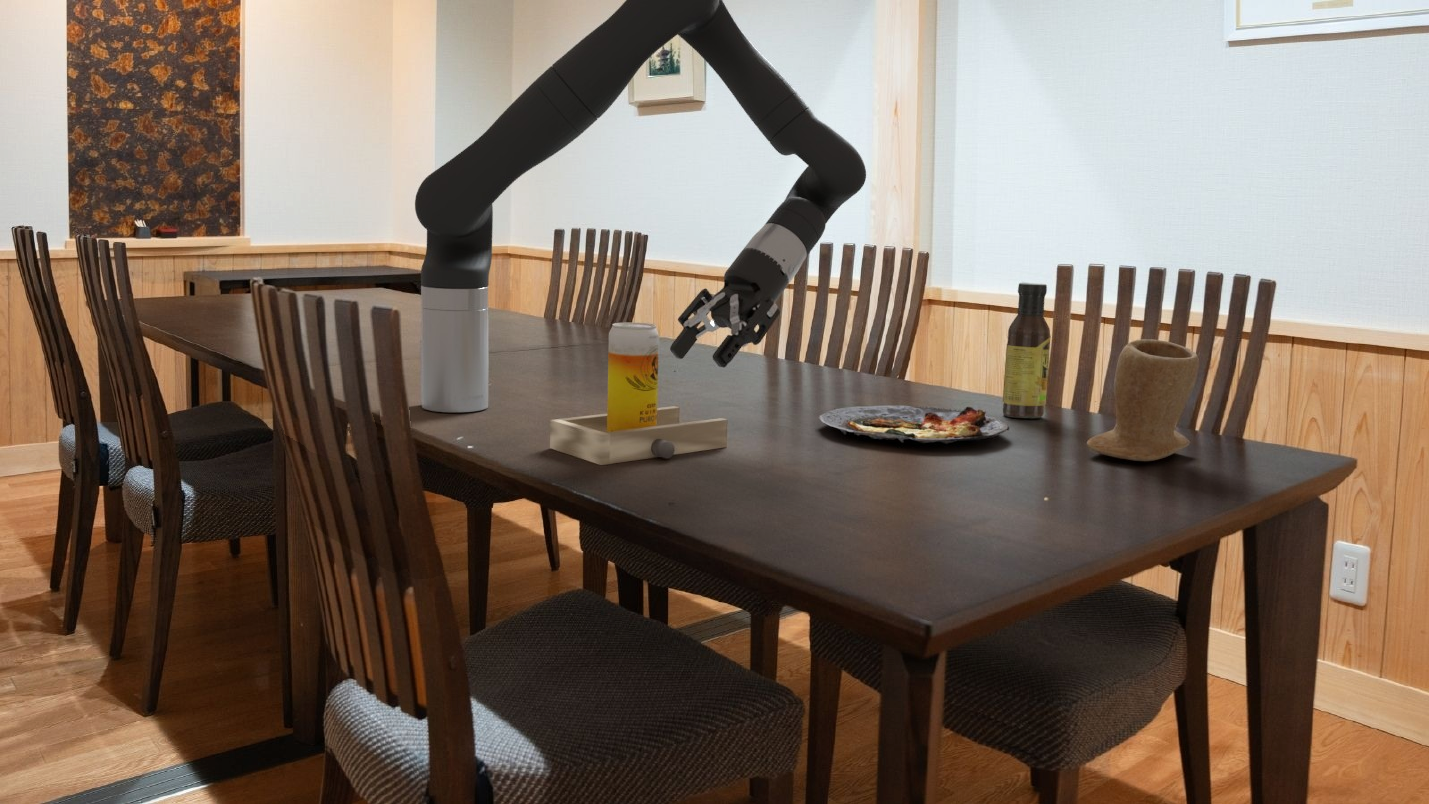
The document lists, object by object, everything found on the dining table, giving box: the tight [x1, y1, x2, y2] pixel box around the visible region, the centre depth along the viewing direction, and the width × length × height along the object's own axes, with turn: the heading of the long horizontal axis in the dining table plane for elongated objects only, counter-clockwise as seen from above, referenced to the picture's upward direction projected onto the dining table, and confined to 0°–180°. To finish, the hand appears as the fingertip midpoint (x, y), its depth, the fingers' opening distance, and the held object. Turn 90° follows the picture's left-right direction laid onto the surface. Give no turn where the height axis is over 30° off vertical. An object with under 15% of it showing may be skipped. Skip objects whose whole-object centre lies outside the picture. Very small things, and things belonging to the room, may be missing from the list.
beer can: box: [606, 321, 660, 432], centre depth 148 cm, size 6×6×15 cm
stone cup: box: [1086, 338, 1200, 462], centre depth 154 cm, size 15×12×15 cm
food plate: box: [818, 404, 1010, 445], centre depth 165 cm, size 25×23×4 cm
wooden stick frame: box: [549, 405, 729, 466], centre depth 149 cm, size 15×19×4 cm
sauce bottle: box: [1002, 281, 1052, 419], centre depth 179 cm, size 6×6×20 cm
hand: (696, 358), depth 153 cm, fingers open, 8 cm apart
